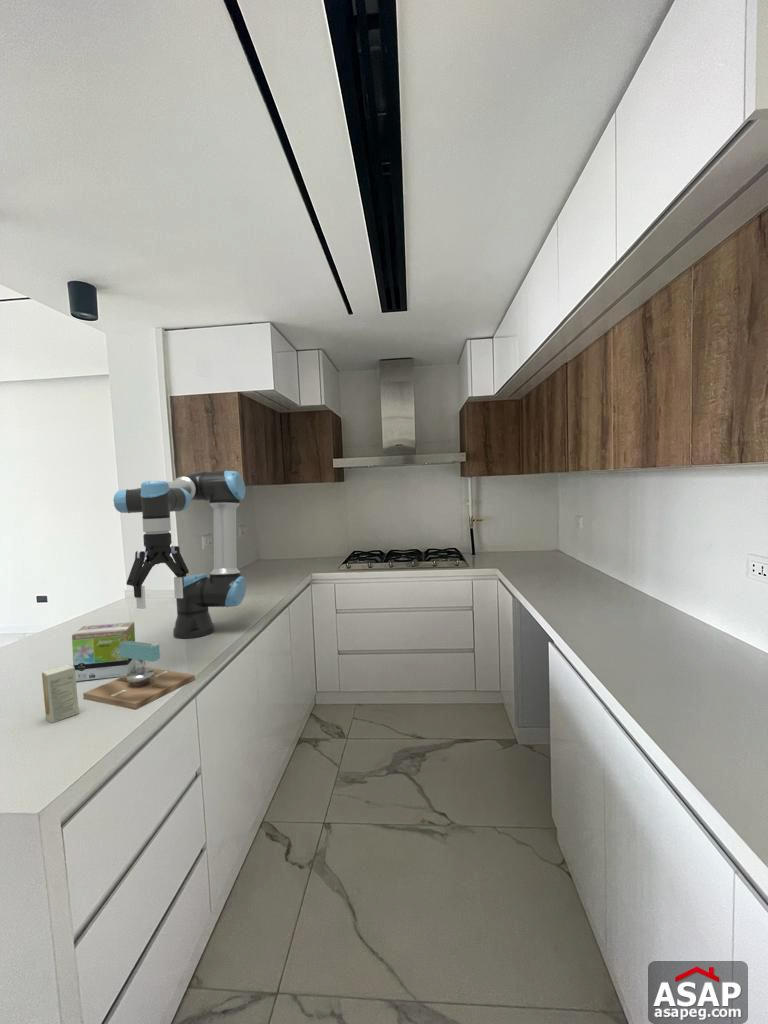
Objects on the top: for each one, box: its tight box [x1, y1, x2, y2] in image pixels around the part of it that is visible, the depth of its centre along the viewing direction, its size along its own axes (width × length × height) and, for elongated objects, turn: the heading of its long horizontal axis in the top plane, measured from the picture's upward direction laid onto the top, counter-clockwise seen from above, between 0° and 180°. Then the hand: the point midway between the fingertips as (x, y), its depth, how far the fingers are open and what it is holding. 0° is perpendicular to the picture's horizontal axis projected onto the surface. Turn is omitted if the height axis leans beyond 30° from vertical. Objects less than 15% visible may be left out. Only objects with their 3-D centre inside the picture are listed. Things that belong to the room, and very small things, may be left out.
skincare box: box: [41, 663, 80, 724], centre depth 117 cm, size 6×4×12 cm
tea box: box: [71, 621, 136, 683], centre depth 145 cm, size 15×10×15 cm, turn 105°
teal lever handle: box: [119, 641, 161, 682], centre depth 133 cm, size 7×13×10 cm, turn 67°
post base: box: [82, 666, 196, 710], centre depth 133 cm, size 20×20×3 cm
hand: (161, 603), depth 140 cm, fingers open, 13 cm apart
